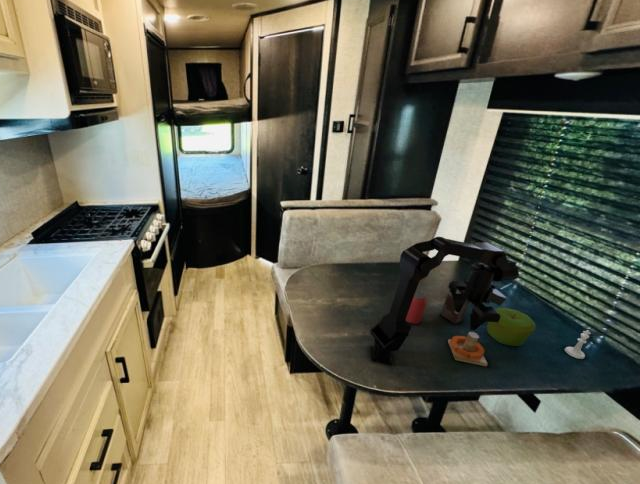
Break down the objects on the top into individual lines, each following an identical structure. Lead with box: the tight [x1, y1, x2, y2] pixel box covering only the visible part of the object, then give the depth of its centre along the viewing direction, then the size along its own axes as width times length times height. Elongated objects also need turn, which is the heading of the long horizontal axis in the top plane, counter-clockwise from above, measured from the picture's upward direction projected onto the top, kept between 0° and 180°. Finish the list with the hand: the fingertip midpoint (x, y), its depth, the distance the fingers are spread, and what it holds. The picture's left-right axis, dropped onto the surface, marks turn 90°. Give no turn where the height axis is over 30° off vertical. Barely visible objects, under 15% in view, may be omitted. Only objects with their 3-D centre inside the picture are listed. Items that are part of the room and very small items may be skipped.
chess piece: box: [564, 329, 592, 360], centre depth 104 cm, size 5×5×10 cm
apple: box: [486, 307, 537, 347], centre depth 110 cm, size 12×12×11 cm
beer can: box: [406, 289, 428, 324], centre depth 120 cm, size 7×7×12 cm
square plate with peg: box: [447, 331, 488, 367], centre depth 105 cm, size 9×9×8 cm
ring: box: [449, 335, 485, 359], centre depth 107 cm, size 9×9×2 cm
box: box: [440, 290, 470, 325], centre depth 121 cm, size 6×4×12 cm
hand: (464, 320), depth 106 cm, fingers open, 9 cm apart
